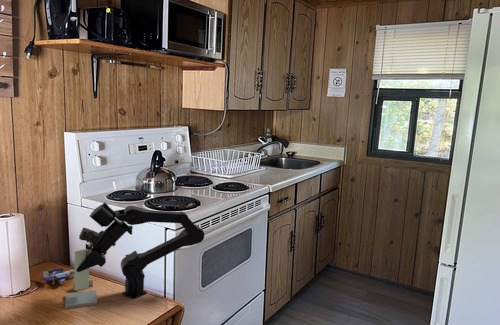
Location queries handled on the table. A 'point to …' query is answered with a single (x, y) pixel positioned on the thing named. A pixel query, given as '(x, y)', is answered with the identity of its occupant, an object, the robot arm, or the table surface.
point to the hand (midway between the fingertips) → (77, 268)
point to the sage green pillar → (82, 276)
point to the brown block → (84, 289)
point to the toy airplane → (57, 275)
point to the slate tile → (81, 299)
